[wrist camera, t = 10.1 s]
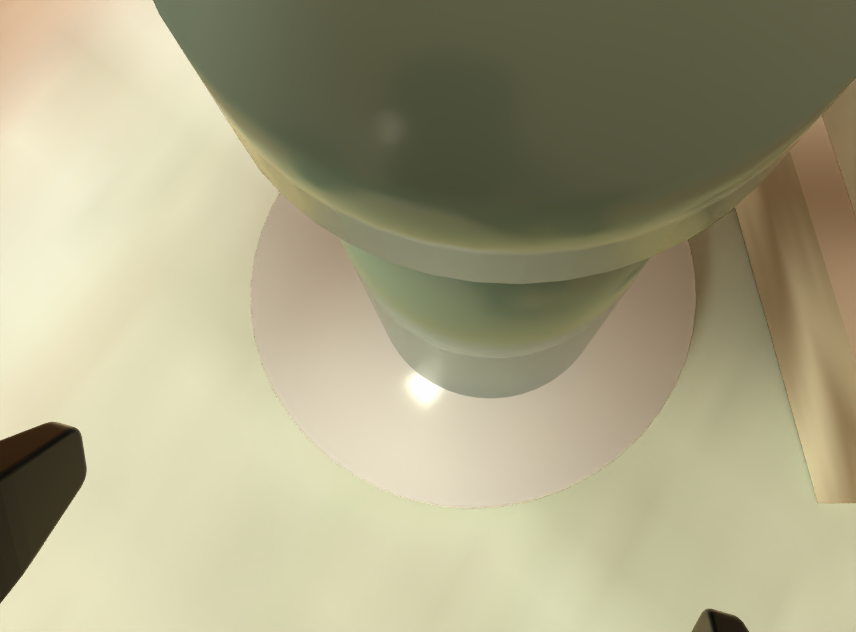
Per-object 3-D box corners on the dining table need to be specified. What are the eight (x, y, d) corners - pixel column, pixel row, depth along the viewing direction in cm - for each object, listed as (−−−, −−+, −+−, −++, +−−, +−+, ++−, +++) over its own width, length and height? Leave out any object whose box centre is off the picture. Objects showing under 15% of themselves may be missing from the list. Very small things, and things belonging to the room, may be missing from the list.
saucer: (730, 474, 18) (748, 472, 17) (279, 537, 18) (265, 539, 17) (631, 80, 21) (641, 55, 20) (251, 139, 21) (238, 118, 20)
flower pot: (646, 397, 17) (1092, 120, 5) (375, 435, 18) (131, 263, 5) (592, 152, 19) (813, -500, 7) (347, 189, 19) (122, -378, 7)
